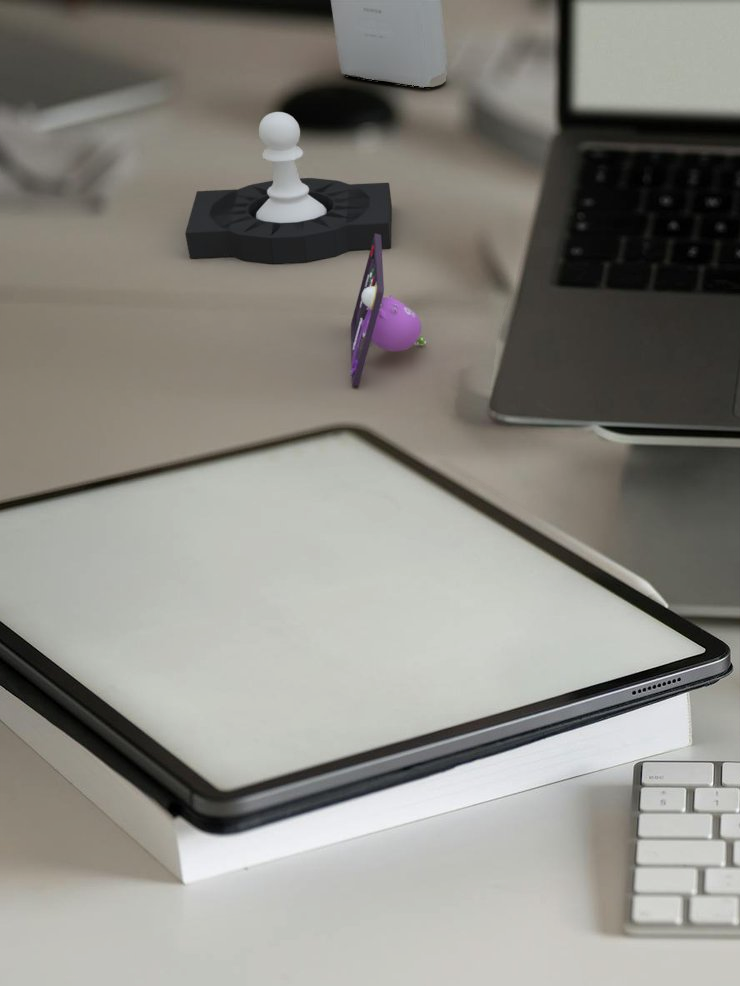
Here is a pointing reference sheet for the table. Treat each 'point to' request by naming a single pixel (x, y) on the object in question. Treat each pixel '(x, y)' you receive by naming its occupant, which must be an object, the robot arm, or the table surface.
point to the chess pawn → (285, 173)
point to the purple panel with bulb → (379, 316)
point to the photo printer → (390, 39)
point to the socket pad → (236, 232)
